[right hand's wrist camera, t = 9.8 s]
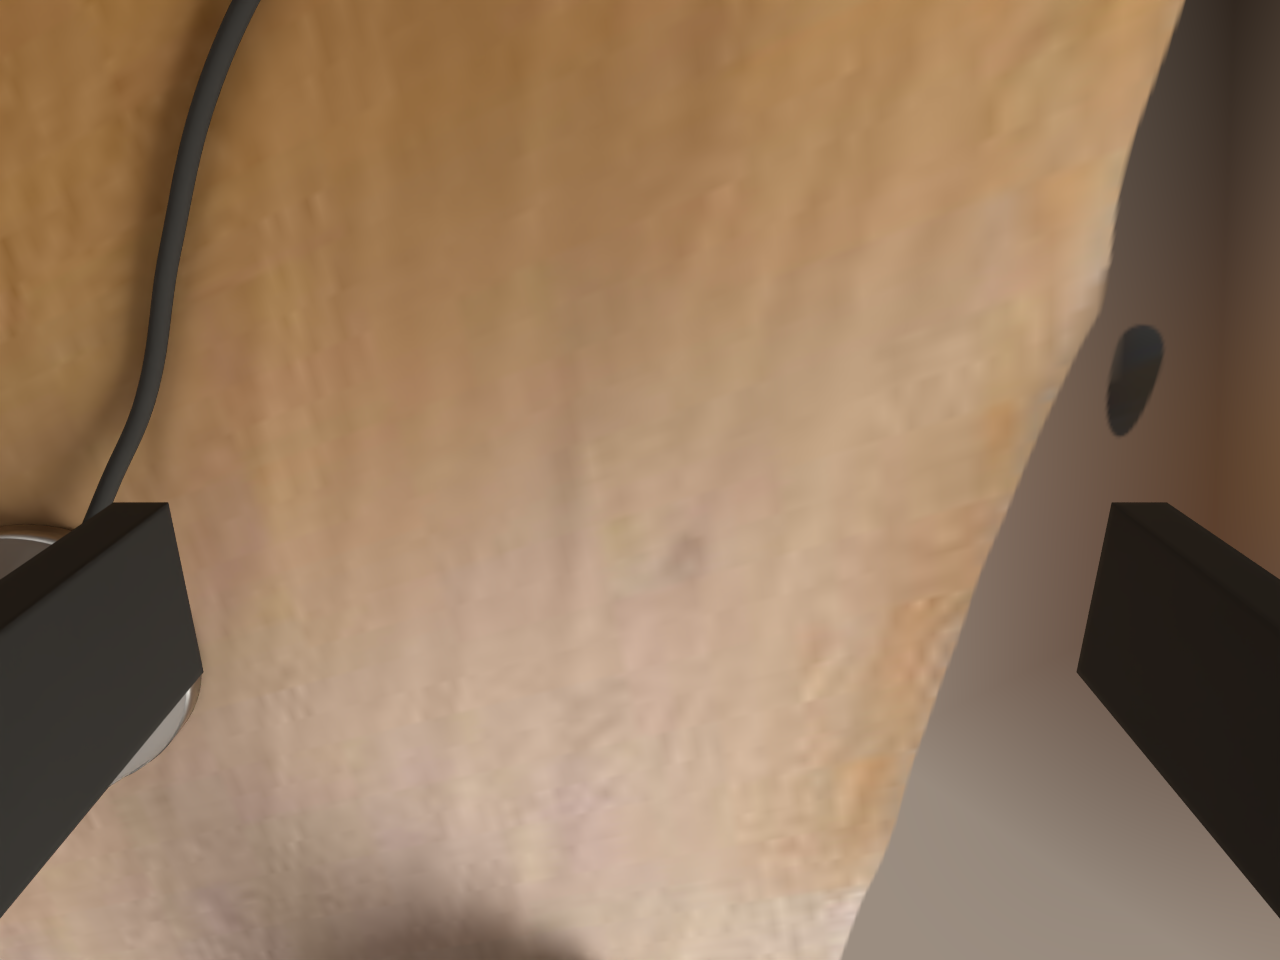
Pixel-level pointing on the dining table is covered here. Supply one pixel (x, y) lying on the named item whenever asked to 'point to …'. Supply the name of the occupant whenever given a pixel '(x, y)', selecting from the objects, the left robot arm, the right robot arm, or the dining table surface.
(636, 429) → the dining table surface
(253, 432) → the dining table surface
